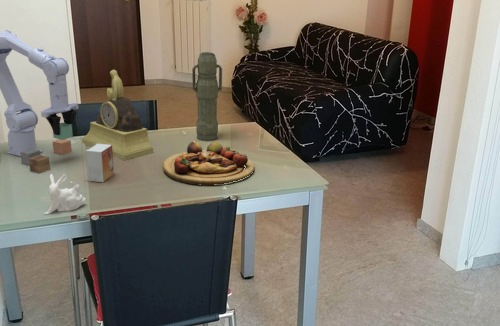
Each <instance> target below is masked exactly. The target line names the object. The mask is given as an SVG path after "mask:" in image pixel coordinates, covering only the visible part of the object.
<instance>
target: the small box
mask: <svg viewBox="0 0 500 326" xmlns="http://www.w3.org/2000/svg"><path fill="white" fill-rule="evenodd" d="M85 158H86V161H85V162H86V169H87V171H86V172H87V180H88V182H96V183H97V182H98V183H99V182H100V183H104V182H106V181H107V180H108V179H110V178H111V177H113V176H114V174H115V169H114V156H113V150H112V145H107V144H96V145H95V146H93V147H90V148H88V149H86V150H85Z"/></svg>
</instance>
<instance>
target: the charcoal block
mask: <svg viewBox="0 0 500 326" xmlns="http://www.w3.org/2000/svg"><path fill="white" fill-rule="evenodd" d="M39 150H40V149H38V150H36V149H32V148H31V149H27V150H24V151H21V152H20V154H21V156H20V160H21V164H22V165H25V166H29V167H30V165H29V158H32V157H35V156H38V155H41V152H40V151H39Z"/></svg>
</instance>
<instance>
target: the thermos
mask: <svg viewBox="0 0 500 326" xmlns="http://www.w3.org/2000/svg"><path fill="white" fill-rule="evenodd" d="M217 62H218V60H217V57H216V54H215V53H213V52H208V51H206V52H201V53H199V55H198V58H197V63H196V64H195V65H194V66H193V67H192V71H191V72H192V73H191V74H192V79H191V80H192V90H193V91H194V92H195V93H196V98H197V120H196V129H195V131H196V139H197V140H199V141H202V142H211V141H212V142H214V141H216V140H218V133H219V123H218V119H217V117H218V115H217V114H218V111H217V110H218V107H217V106H218V105H217V104H218V103H217V102H218V97H219V92H220V91H221V92H222V89H223V68H222V66H221V65H220V64H218V63H217ZM196 69H197V75H198V76H197V80H196ZM217 69H219V70H217ZM217 72H218V77H217ZM217 78H218V79H217Z"/></svg>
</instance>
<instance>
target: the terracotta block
mask: <svg viewBox="0 0 500 326" xmlns="http://www.w3.org/2000/svg"><path fill="white" fill-rule="evenodd" d="M52 149H53V153H54V154H57V155H61V156H63V155H67V154H69V153H71V152H72V151H73V149H72V141H71V140H70V139H64V140H61V139H56V140H53V141H52Z"/></svg>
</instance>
